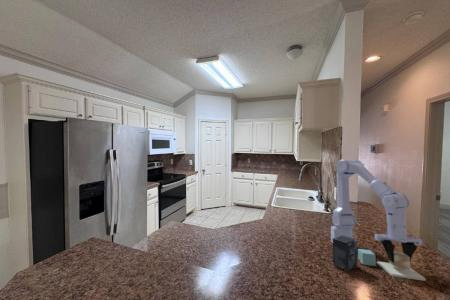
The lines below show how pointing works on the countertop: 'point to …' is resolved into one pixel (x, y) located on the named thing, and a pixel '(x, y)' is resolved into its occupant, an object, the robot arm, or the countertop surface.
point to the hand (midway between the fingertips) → (398, 261)
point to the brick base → (401, 260)
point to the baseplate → (401, 271)
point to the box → (344, 252)
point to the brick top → (366, 257)
